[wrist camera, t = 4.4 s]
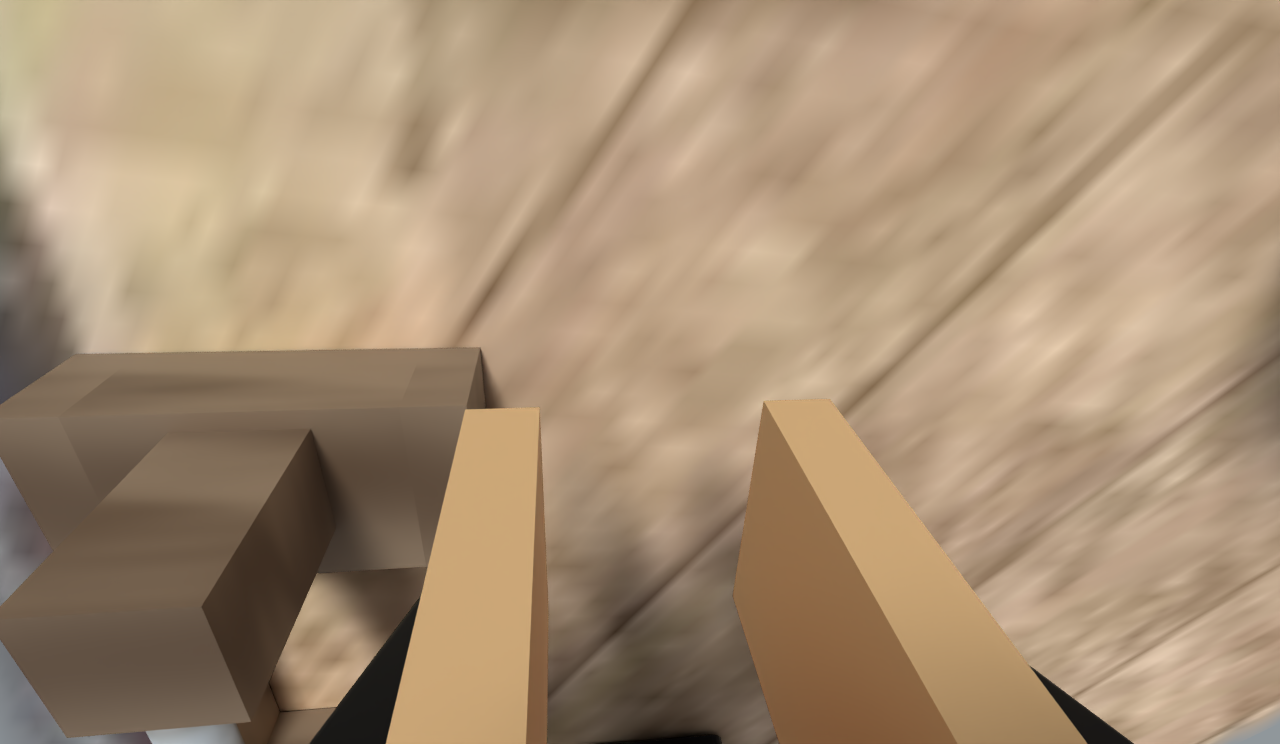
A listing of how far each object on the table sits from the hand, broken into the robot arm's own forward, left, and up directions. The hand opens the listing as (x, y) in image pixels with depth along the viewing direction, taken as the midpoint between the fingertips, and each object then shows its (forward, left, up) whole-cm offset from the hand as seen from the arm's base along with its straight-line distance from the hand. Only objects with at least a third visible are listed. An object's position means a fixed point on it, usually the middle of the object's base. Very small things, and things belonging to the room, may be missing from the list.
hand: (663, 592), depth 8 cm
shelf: (-11, +8, -10) cm, 17 cm away
